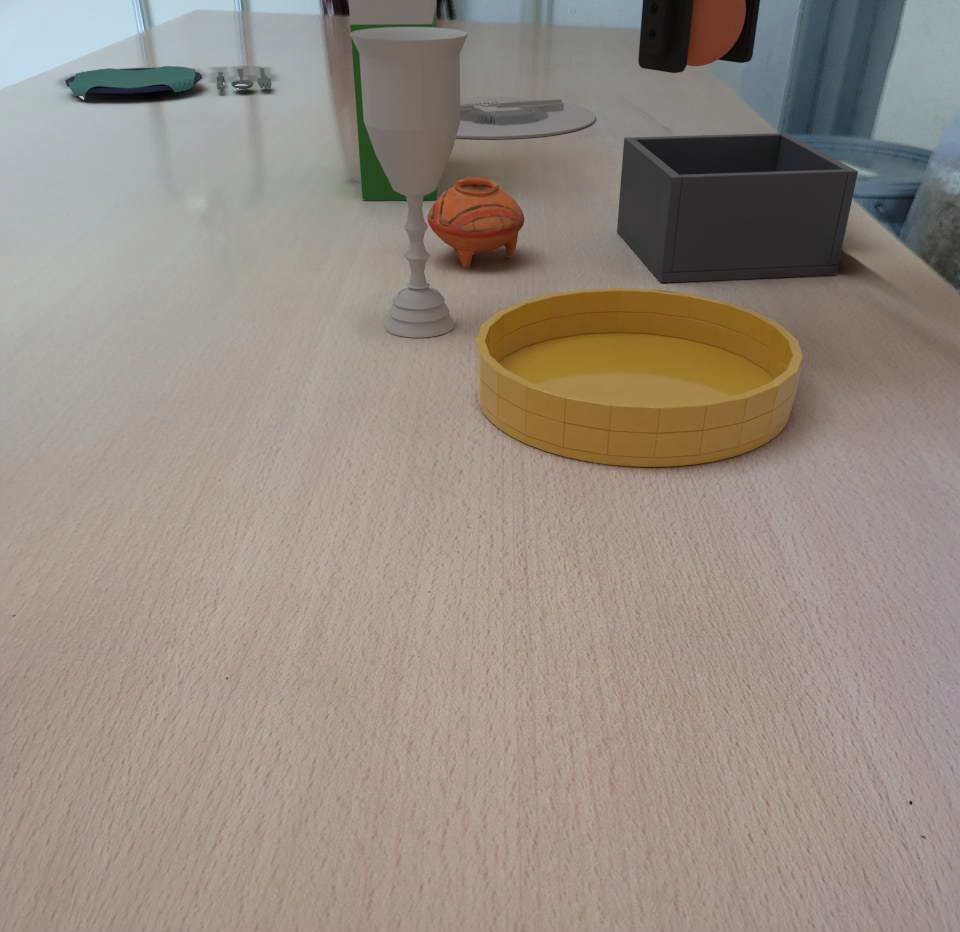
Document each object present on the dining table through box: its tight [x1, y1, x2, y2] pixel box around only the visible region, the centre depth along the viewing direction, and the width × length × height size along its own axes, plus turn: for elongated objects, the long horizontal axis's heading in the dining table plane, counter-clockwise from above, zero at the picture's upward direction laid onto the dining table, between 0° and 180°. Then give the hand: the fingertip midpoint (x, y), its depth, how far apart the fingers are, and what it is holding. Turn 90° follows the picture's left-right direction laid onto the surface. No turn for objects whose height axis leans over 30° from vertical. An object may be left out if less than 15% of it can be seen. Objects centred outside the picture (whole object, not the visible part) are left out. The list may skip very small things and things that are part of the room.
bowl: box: [474, 287, 804, 468], centre depth 61 cm, size 19×19×4 cm
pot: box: [427, 176, 525, 268], centre depth 83 cm, size 8×8×7 cm
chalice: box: [349, 27, 469, 339], centre depth 66 cm, size 7×7×18 cm
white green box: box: [348, 0, 439, 201], centre depth 99 cm, size 18×7×24 cm, turn 1°
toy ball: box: [687, 0, 746, 67], centre depth 57 cm, size 5×5×5 cm
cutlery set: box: [64, 65, 273, 98], centre depth 151 cm, size 20×30×2 cm, turn 102°
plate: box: [456, 96, 596, 140], centre depth 134 cm, size 28×28×1 cm
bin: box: [616, 132, 859, 284], centre depth 83 cm, size 15×15×8 cm
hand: (695, 61), depth 58 cm, fingers closed on toy ball, 4 cm apart
